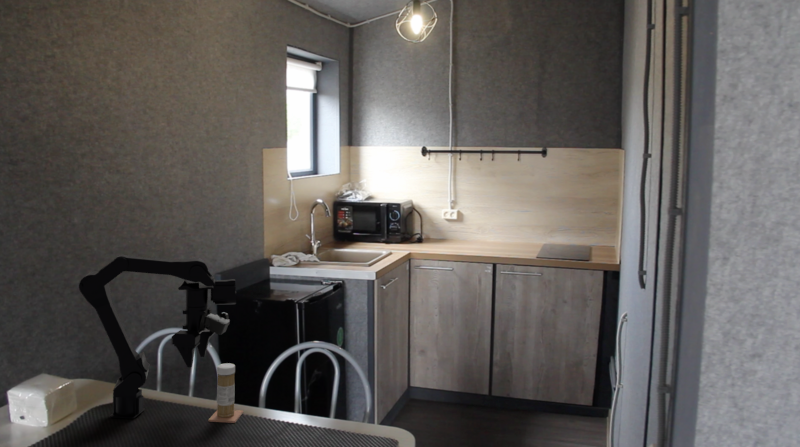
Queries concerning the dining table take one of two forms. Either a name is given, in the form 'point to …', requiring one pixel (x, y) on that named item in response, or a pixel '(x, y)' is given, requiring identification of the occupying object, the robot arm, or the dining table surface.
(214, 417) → the tile
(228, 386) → the sprinkles bottle
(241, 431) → the dining table surface
